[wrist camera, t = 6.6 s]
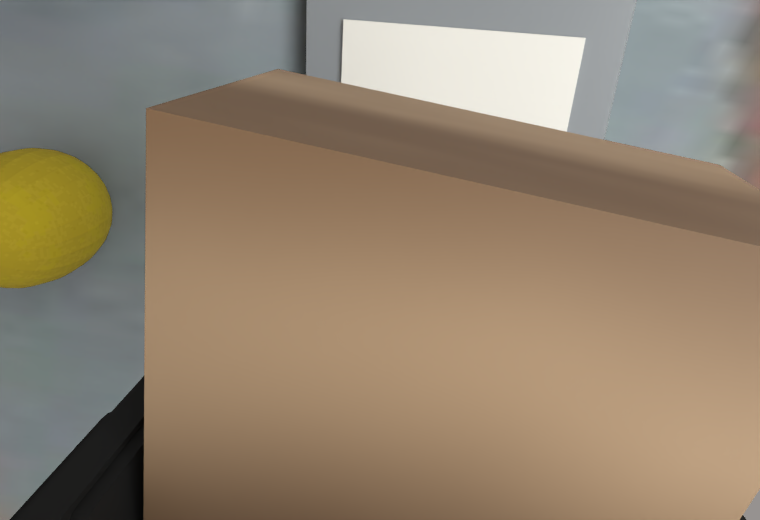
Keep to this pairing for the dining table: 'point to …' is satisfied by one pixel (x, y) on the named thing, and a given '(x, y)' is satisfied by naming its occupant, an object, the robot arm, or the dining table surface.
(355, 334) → the walnut slab
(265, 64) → the dining table surface
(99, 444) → the robot arm
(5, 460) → the dining table surface
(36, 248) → the lemon
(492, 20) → the baseplate
